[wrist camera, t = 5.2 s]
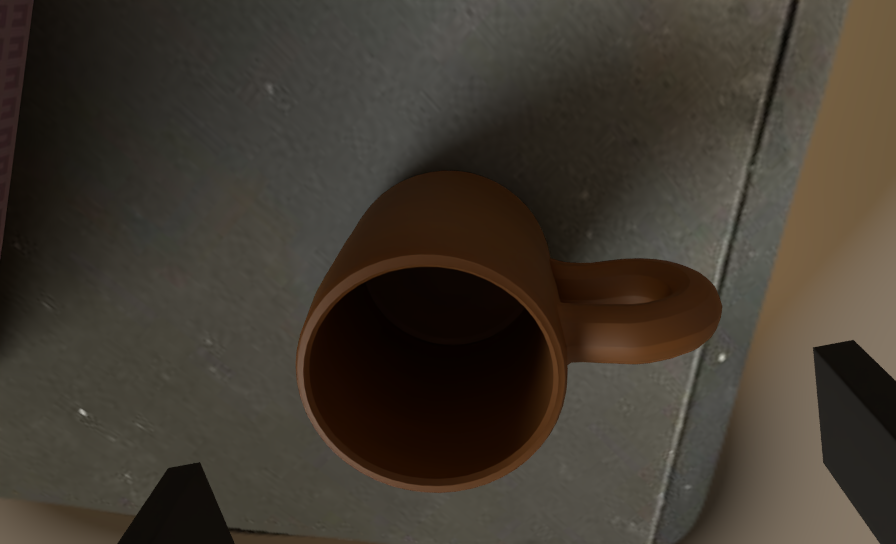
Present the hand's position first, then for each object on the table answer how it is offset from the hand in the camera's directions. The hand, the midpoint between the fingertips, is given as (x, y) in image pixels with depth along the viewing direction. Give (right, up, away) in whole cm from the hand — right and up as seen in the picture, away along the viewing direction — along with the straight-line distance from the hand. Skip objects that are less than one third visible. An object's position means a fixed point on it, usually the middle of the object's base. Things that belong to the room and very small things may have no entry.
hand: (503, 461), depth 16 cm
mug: (+1, +5, +13) cm, 14 cm away
